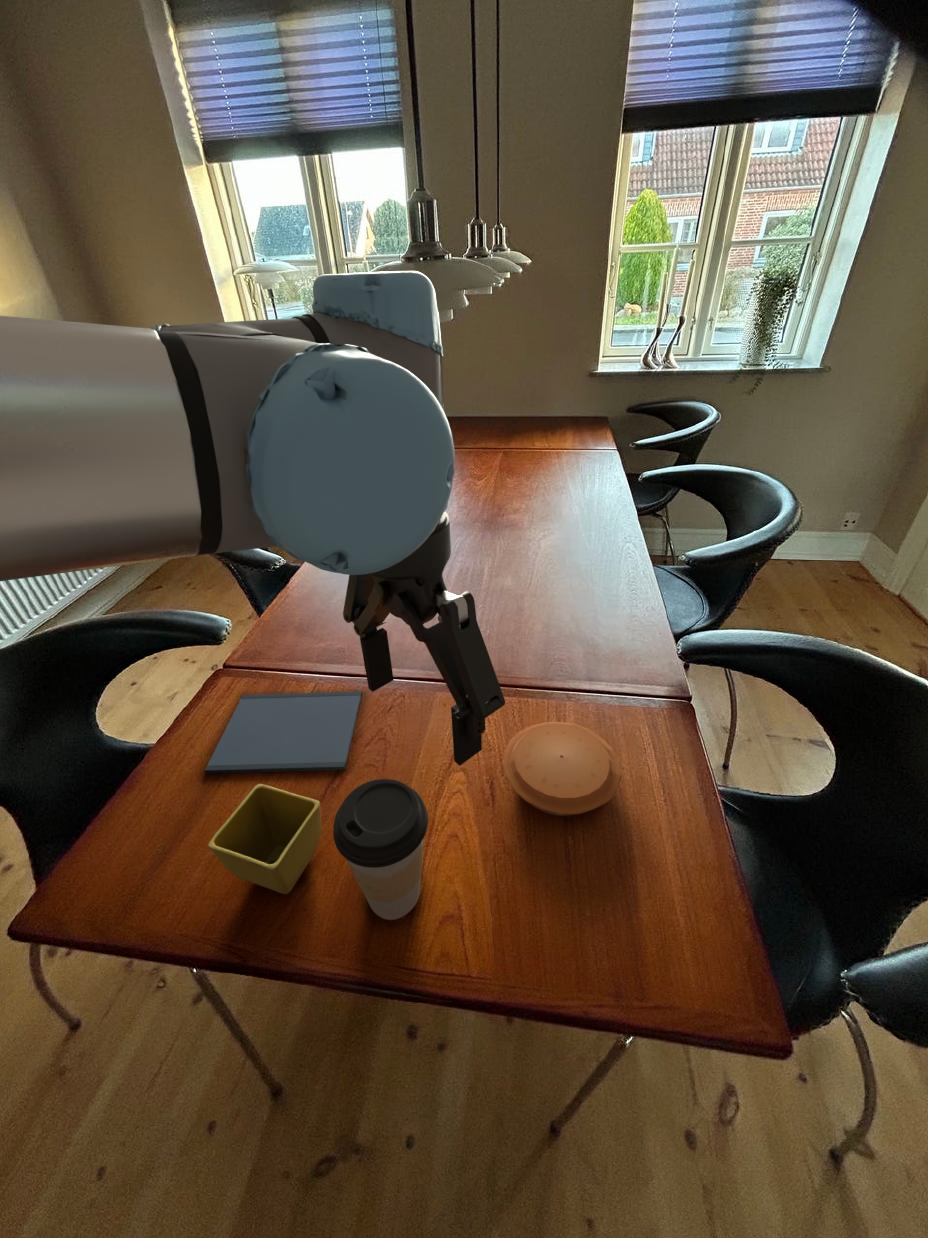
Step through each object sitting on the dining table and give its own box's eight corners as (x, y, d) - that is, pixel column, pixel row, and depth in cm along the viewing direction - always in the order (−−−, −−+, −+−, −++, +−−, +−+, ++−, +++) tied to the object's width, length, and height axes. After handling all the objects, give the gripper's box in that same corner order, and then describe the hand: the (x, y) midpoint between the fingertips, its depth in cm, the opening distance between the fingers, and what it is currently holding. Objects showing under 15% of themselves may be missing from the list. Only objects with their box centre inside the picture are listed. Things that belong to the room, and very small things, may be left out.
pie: (479, 787, 72) (478, 762, 69) (544, 723, 82) (545, 699, 79) (577, 855, 63) (581, 830, 61) (637, 775, 73) (643, 750, 70)
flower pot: (275, 827, 68) (257, 781, 63) (334, 847, 65) (321, 800, 60) (228, 891, 61) (205, 845, 56) (293, 916, 59) (274, 870, 54)
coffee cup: (337, 921, 58) (311, 839, 50) (375, 845, 65) (358, 763, 57) (416, 949, 55) (403, 867, 47) (447, 867, 63) (440, 784, 54)
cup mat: (205, 773, 76) (204, 770, 75) (243, 697, 89) (242, 694, 89) (344, 769, 75) (344, 766, 75) (362, 693, 89) (361, 691, 88)
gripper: (560, 549, 34) (543, 768, 46) (352, 466, 50) (379, 646, 62) (477, 591, 30) (482, 820, 42) (278, 487, 46) (322, 675, 58)
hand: (421, 717), depth 52 cm, fingers open, 13 cm apart
